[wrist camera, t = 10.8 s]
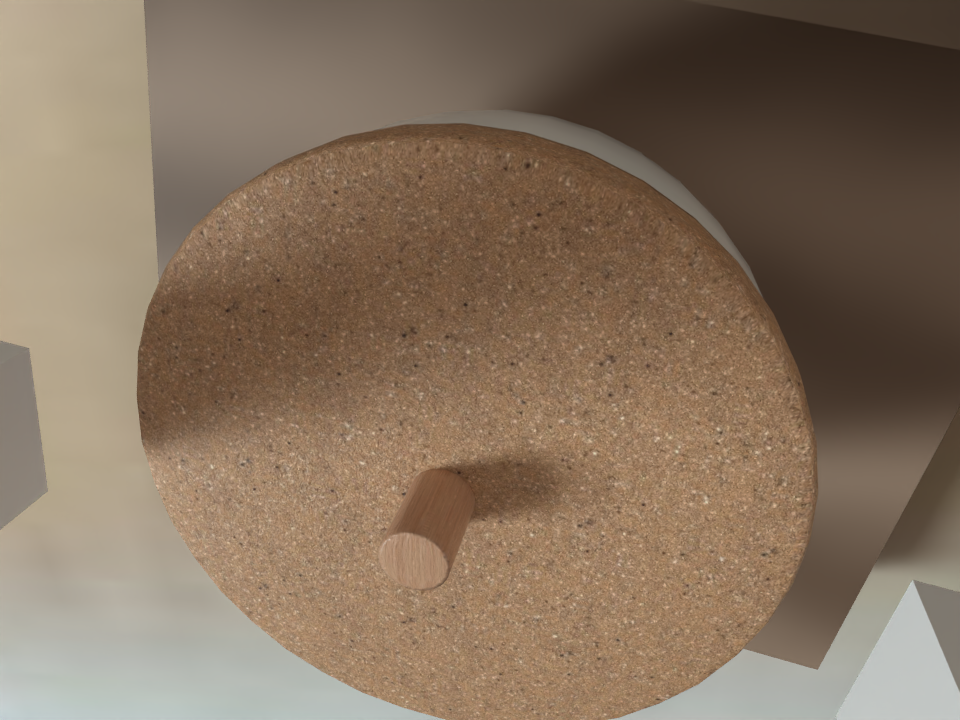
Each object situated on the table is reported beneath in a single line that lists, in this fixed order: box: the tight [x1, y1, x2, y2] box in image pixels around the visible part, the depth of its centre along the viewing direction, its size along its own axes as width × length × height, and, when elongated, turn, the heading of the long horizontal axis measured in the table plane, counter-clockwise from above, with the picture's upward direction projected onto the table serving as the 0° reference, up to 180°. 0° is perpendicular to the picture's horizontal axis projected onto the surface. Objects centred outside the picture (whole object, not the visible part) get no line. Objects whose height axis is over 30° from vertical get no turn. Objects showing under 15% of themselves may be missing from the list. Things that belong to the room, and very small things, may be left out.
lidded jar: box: [137, 110, 818, 720], centre depth 14 cm, size 11×11×9 cm
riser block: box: [144, 0, 960, 670], centre depth 19 cm, size 18×20×7 cm
